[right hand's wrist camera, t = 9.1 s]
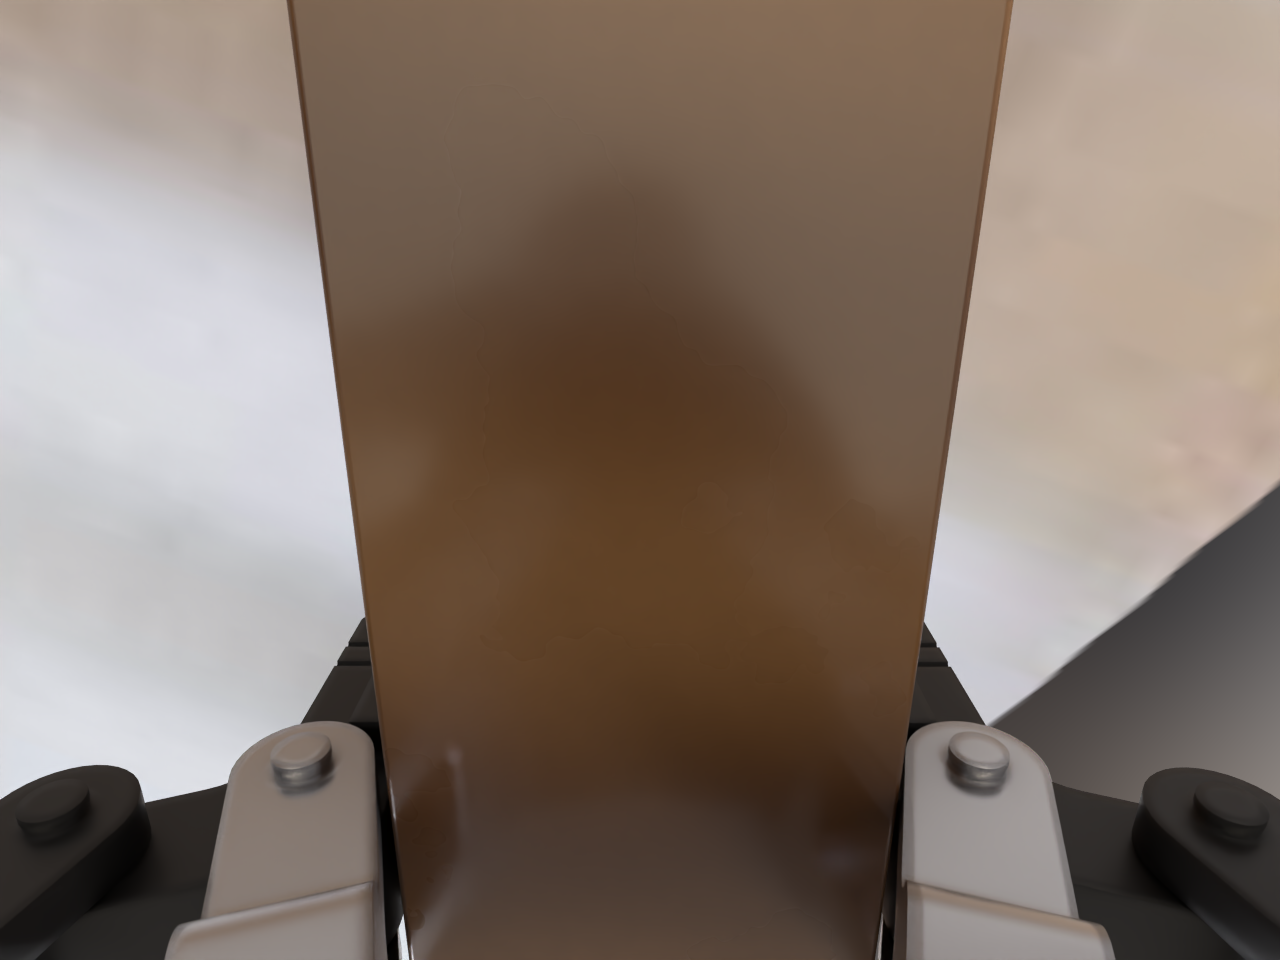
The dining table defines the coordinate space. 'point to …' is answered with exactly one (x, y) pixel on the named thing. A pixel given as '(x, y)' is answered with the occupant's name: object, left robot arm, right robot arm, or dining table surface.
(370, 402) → the beam
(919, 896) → the right robot arm
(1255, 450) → the dining table surface
